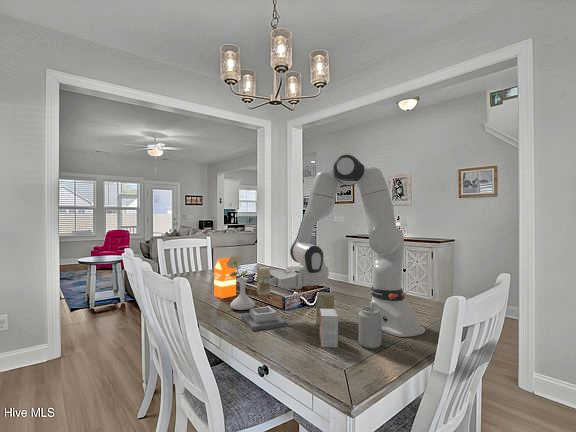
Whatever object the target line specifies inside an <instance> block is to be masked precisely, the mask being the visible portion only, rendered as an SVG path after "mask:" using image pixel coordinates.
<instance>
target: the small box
mask: <svg viewBox="0 0 576 432" xmlns="http://www.w3.org/2000/svg"><path fill="white" fill-rule="evenodd" d="M338 333H339V316H338V313H337V311H336V308H334V309H320V325H319V334H318V335H319V341H320V348H338V347H339V345H338V344H339V343H338V341H339V334H338Z"/></svg>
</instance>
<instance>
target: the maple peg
mask: <svg viewBox="0 0 576 432" xmlns="http://www.w3.org/2000/svg"><path fill="white" fill-rule="evenodd" d="M270 270H271V267H269V266H267V265H265V266H257V268H256V271H257V273H256V276H257V278H256V282H257V285H256V287H257V289H256V293H257V295H258V296H261V297H264V296H270V293H271V290H270V289H271V288H270V287H271V284H270V283H266V284H265V283H263V279H264V278H270Z"/></svg>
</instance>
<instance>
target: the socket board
mask: <svg viewBox="0 0 576 432" xmlns="http://www.w3.org/2000/svg"><path fill="white" fill-rule="evenodd" d="M240 315H241V316H240V318H241V319H242V320H243V322H244V323H245V324H246V325H247V326H248V328H249V329H250V330H251V331H252V332H254V331H259V330H265V329H273V328H279V327H286V326H287V323H288V322H287V321H286V320H285V319H284V318H283V317H281V316H280V315H279V314H278V313H277V311H276V310H275V309H273V308H272V307H271V306H269V305H267V306H261V307H253V308H250V309H249V312H245V313H240Z"/></svg>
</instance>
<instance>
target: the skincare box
mask: <svg viewBox="0 0 576 432" xmlns="http://www.w3.org/2000/svg"><path fill="white" fill-rule="evenodd" d="M334 304H335V293H333V292H328V291H327V292H326V291H319V292H318V293H317V294H316V318H315V319H316V320H315V324H316V325H319V326H320V309H335V305H334Z"/></svg>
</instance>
